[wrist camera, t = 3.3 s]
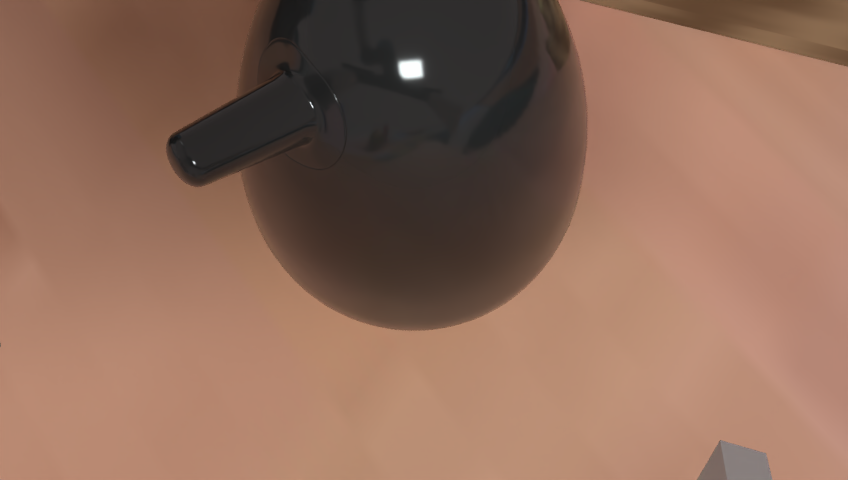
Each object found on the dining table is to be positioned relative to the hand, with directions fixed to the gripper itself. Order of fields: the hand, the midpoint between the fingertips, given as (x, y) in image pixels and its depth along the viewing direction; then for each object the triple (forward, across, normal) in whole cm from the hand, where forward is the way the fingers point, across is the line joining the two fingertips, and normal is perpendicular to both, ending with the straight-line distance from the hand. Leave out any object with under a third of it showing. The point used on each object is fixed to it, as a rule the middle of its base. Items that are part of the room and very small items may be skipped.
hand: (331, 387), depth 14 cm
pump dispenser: (+14, -1, -4) cm, 15 cm away
